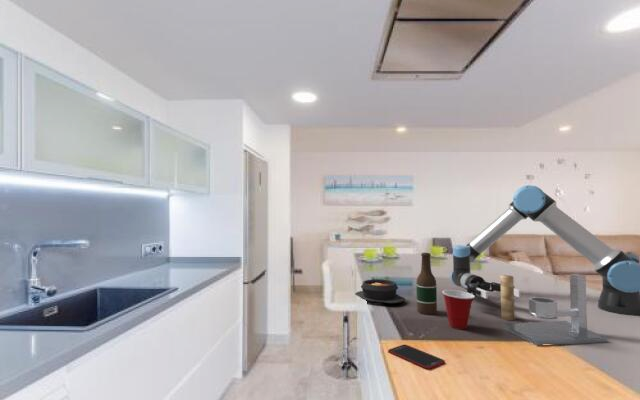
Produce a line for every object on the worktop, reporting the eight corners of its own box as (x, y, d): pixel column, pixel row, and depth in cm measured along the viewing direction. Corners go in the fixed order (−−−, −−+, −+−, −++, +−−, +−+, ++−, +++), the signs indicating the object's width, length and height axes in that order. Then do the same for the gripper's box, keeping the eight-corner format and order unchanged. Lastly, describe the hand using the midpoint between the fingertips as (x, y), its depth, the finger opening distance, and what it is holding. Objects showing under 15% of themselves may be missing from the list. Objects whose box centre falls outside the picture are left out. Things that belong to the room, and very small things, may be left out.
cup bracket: (565, 325, 124) (563, 270, 124) (607, 342, 108) (605, 279, 109) (502, 328, 121) (501, 272, 122) (536, 346, 105) (534, 281, 106)
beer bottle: (436, 310, 143) (435, 252, 144) (436, 315, 136) (435, 254, 137) (417, 308, 146) (416, 251, 146) (416, 314, 138) (415, 253, 139)
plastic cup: (478, 332, 117) (478, 296, 117) (445, 330, 119) (444, 295, 119) (471, 322, 128) (471, 289, 128) (440, 320, 130) (440, 288, 130)
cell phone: (404, 347, 106) (404, 343, 106) (446, 364, 94) (446, 360, 94) (386, 353, 102) (386, 349, 102) (428, 372, 90) (428, 368, 90)
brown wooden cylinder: (509, 316, 134) (508, 275, 135) (517, 320, 130) (516, 277, 131) (498, 316, 134) (497, 275, 134) (506, 320, 130) (505, 277, 130)
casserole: (414, 302, 156) (414, 283, 156) (387, 310, 144) (387, 289, 145) (372, 292, 175) (372, 275, 176) (346, 298, 164) (346, 280, 164)
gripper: (499, 290, 156) (533, 303, 135) (446, 292, 153) (473, 305, 132) (499, 273, 156) (532, 283, 135) (446, 275, 154) (472, 285, 133)
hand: (503, 294), depth 134 cm, fingers open, 13 cm apart
